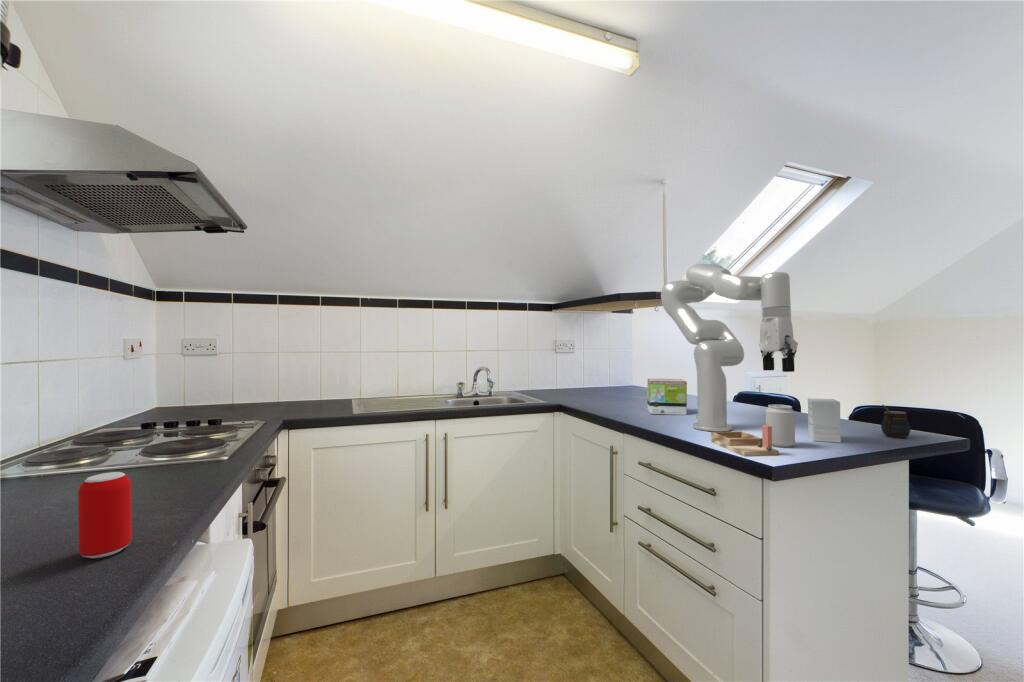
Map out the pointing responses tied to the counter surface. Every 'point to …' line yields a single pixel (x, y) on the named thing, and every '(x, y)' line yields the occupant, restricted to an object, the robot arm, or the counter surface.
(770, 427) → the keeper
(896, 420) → the mate gourd
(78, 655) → the counter surface
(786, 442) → the can
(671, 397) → the tea box
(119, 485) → the beverage can
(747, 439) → the base
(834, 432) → the supplement box
